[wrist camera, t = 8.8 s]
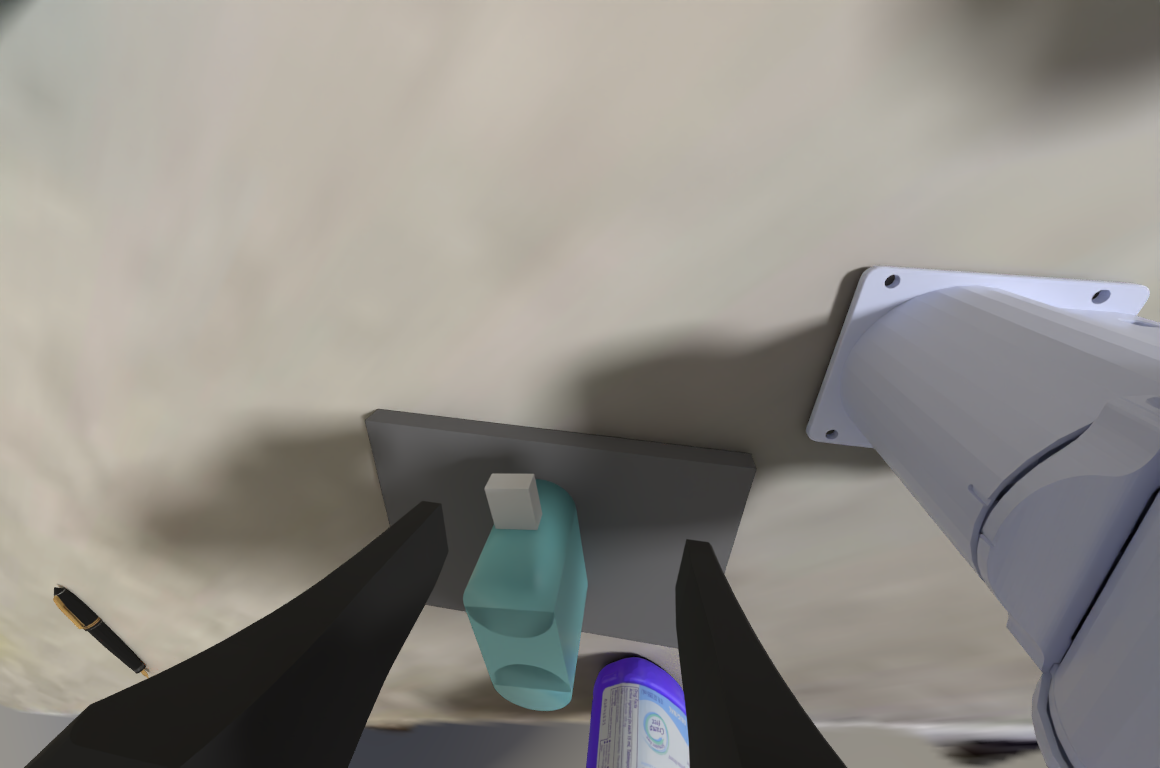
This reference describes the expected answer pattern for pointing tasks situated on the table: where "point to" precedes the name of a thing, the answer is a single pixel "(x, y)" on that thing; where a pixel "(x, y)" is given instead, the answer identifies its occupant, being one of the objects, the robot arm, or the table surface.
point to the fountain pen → (96, 628)
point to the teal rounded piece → (529, 592)
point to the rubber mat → (601, 495)
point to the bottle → (637, 718)
